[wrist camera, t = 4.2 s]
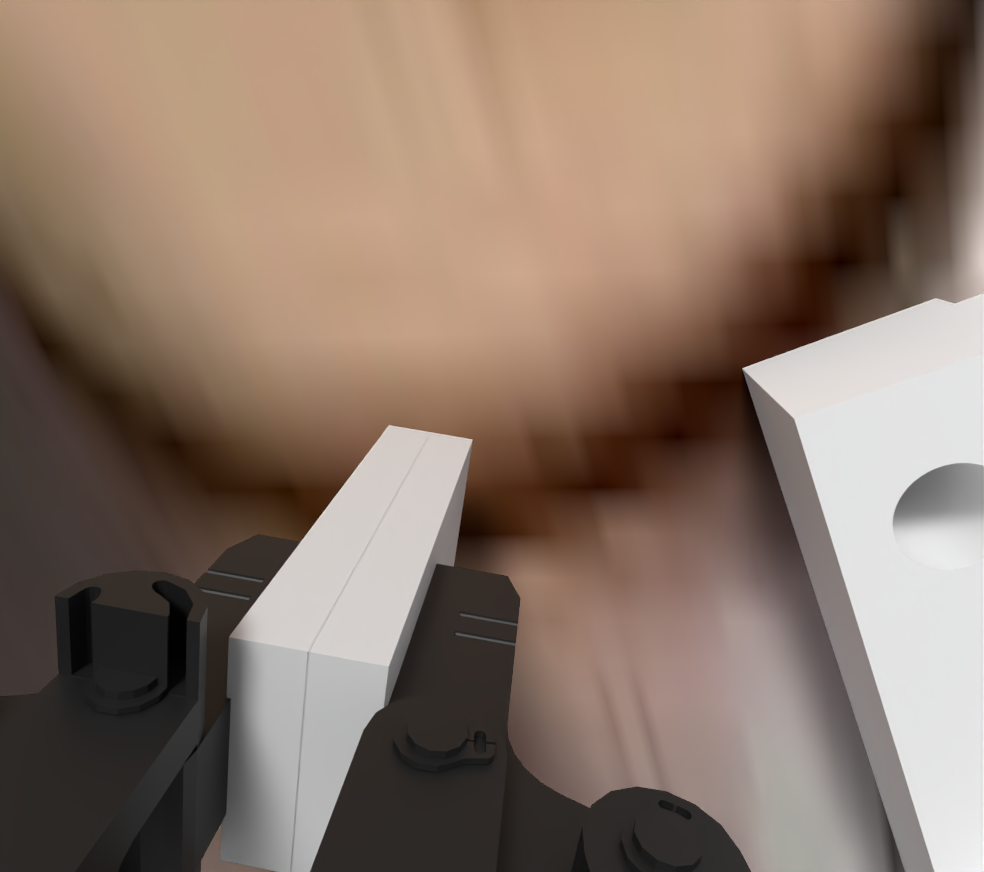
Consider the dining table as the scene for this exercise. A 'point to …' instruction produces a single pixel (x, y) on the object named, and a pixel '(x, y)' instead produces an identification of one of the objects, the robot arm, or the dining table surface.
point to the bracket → (897, 551)
